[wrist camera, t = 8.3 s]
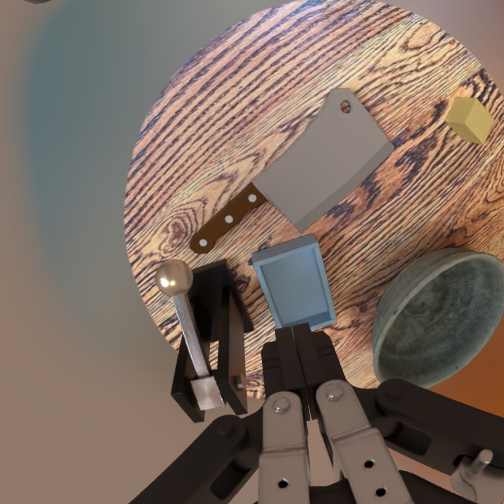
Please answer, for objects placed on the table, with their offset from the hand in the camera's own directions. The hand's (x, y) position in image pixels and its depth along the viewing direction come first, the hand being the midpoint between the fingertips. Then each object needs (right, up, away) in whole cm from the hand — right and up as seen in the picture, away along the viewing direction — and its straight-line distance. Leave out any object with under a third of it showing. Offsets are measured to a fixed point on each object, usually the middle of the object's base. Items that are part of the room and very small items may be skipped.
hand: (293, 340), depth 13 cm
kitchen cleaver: (+2, +11, +19) cm, 22 cm away
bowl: (+21, -2, +25) cm, 33 cm away
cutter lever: (-7, -3, +13) cm, 15 cm away
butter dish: (+3, 0, +23) cm, 24 cm away
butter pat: (+24, +20, +15) cm, 35 cm away
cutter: (-6, -2, +24) cm, 25 cm away
